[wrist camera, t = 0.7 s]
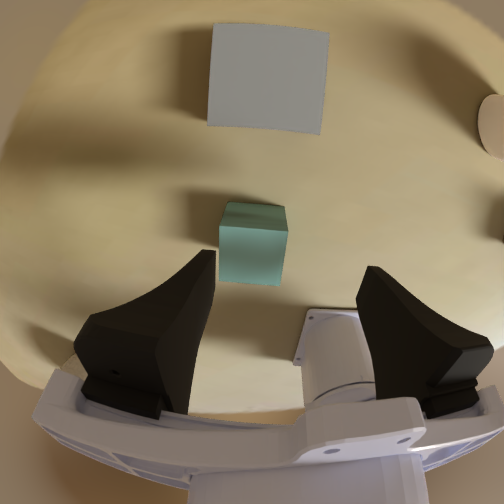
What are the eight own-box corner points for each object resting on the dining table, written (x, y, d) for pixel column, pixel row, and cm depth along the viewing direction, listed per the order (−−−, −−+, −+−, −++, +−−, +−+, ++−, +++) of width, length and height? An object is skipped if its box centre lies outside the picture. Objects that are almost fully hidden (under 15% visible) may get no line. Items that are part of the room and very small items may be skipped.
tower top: (312, 130, 17) (319, 135, 15) (214, 122, 17) (207, 125, 15) (321, 41, 13) (329, 32, 11) (220, 33, 13) (213, 23, 11)
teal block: (277, 254, 24) (279, 286, 20) (226, 249, 24) (218, 280, 20) (284, 206, 22) (288, 231, 18) (228, 201, 22) (219, 225, 18)
